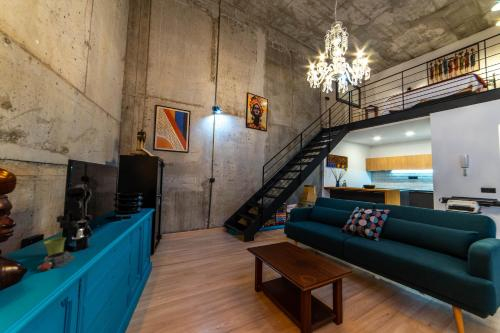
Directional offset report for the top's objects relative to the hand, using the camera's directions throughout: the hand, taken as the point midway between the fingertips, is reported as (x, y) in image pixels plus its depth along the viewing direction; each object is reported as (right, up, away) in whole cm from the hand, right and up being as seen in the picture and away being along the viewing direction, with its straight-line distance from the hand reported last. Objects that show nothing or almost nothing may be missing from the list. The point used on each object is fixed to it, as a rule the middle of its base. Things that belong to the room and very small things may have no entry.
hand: (77, 236), depth 114 cm
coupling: (0, -1, 0) cm, 1 cm away
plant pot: (-14, -12, +1) cm, 18 cm away
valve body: (-2, -11, -11) cm, 15 cm away
